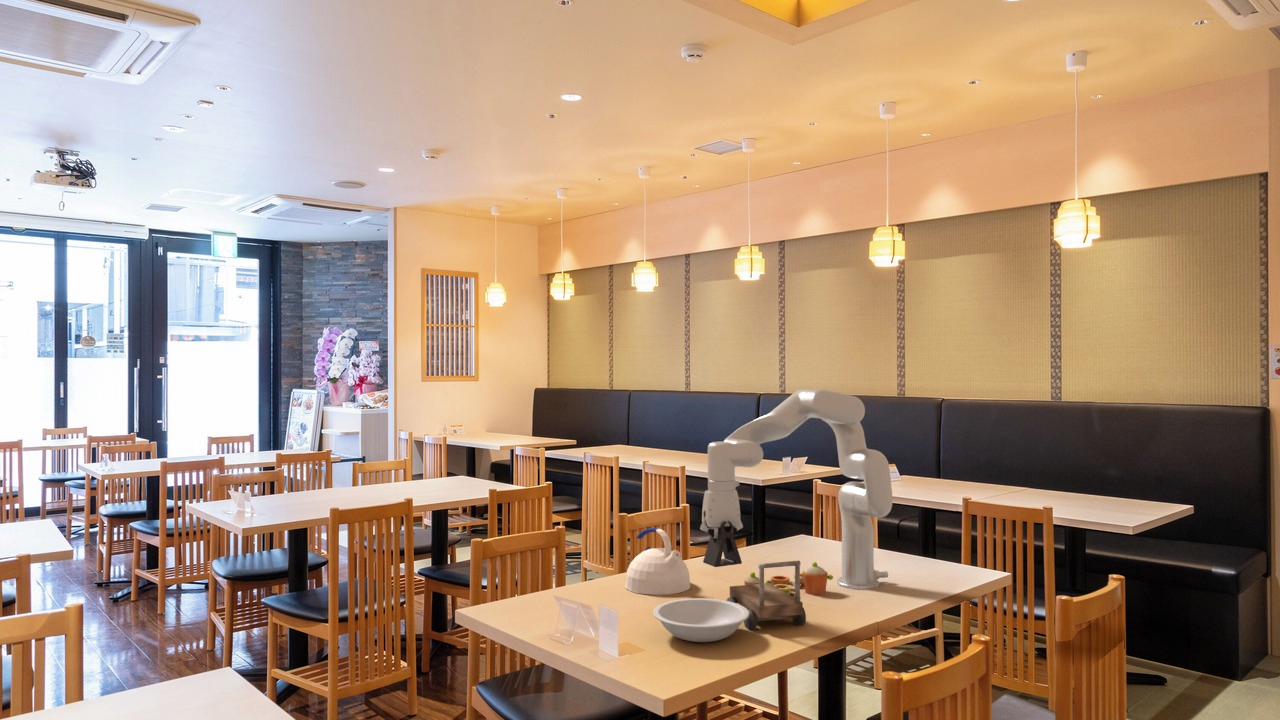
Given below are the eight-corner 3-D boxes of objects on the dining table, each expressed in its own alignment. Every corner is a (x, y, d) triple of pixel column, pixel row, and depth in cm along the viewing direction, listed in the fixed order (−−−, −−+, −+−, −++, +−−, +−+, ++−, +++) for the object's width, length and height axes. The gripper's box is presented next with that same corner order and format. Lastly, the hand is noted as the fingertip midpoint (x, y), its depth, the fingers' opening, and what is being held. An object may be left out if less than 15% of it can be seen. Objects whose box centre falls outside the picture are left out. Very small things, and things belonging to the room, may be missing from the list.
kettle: (652, 600, 242) (651, 537, 242) (612, 585, 259) (611, 526, 259) (705, 588, 254) (704, 529, 254) (663, 575, 270) (663, 519, 271)
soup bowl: (657, 621, 221) (657, 597, 221) (748, 624, 218) (748, 599, 218) (648, 653, 197) (648, 625, 197) (750, 656, 195) (750, 627, 195)
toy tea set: (807, 583, 260) (806, 552, 260) (838, 595, 246) (838, 562, 246) (735, 593, 249) (735, 561, 249) (764, 606, 235) (764, 572, 235)
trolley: (775, 607, 233) (774, 544, 233) (808, 629, 214) (808, 560, 214) (724, 612, 229) (723, 548, 229) (753, 634, 210) (753, 565, 210)
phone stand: (714, 567, 227) (714, 523, 228) (703, 562, 233) (702, 519, 233) (741, 563, 231) (741, 520, 232) (730, 559, 237) (729, 517, 237)
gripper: (742, 483, 238) (743, 547, 238) (689, 485, 234) (690, 551, 234) (753, 486, 231) (753, 552, 231) (699, 489, 227) (699, 556, 227)
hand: (721, 551), depth 232 cm, fingers closed on phone stand, 2 cm apart
